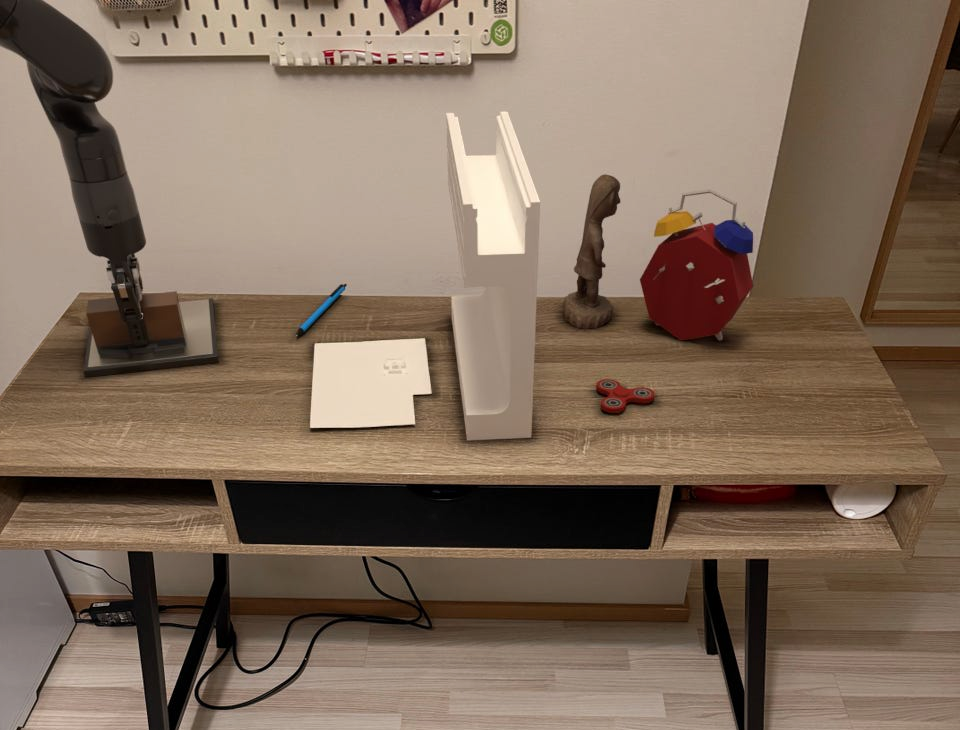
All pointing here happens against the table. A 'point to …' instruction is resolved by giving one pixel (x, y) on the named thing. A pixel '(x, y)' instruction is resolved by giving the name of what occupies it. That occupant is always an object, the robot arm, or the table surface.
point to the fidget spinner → (621, 395)
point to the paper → (368, 383)
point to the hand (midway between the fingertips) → (141, 335)
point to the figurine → (592, 259)
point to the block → (495, 282)
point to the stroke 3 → (169, 349)
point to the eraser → (158, 319)
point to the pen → (321, 309)
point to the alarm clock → (697, 273)
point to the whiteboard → (196, 352)
